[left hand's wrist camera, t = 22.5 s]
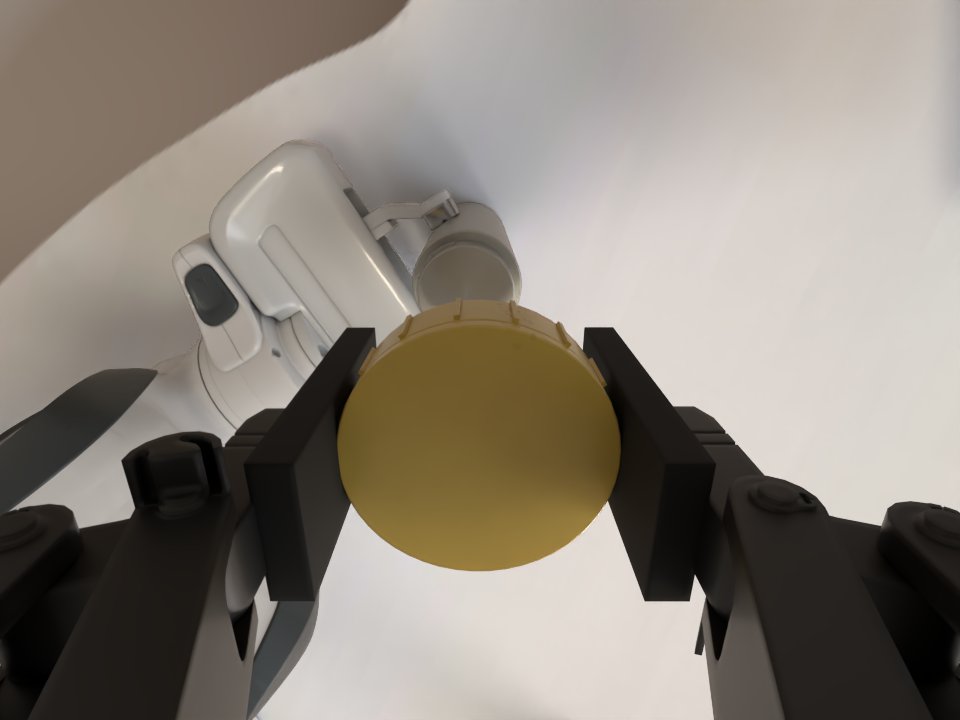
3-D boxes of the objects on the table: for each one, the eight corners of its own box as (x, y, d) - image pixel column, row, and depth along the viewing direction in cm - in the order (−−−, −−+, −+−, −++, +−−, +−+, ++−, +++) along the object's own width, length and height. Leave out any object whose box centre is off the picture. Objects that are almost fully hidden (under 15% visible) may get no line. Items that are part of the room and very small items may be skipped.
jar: (424, 257, 37) (390, 323, 23) (451, 189, 35) (434, 215, 21) (488, 285, 38) (495, 366, 23) (517, 220, 36) (544, 265, 22)
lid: (620, 303, 11) (646, 331, 9) (586, 523, 13) (602, 578, 11) (349, 290, 11) (325, 316, 9) (359, 513, 13) (340, 568, 11)
